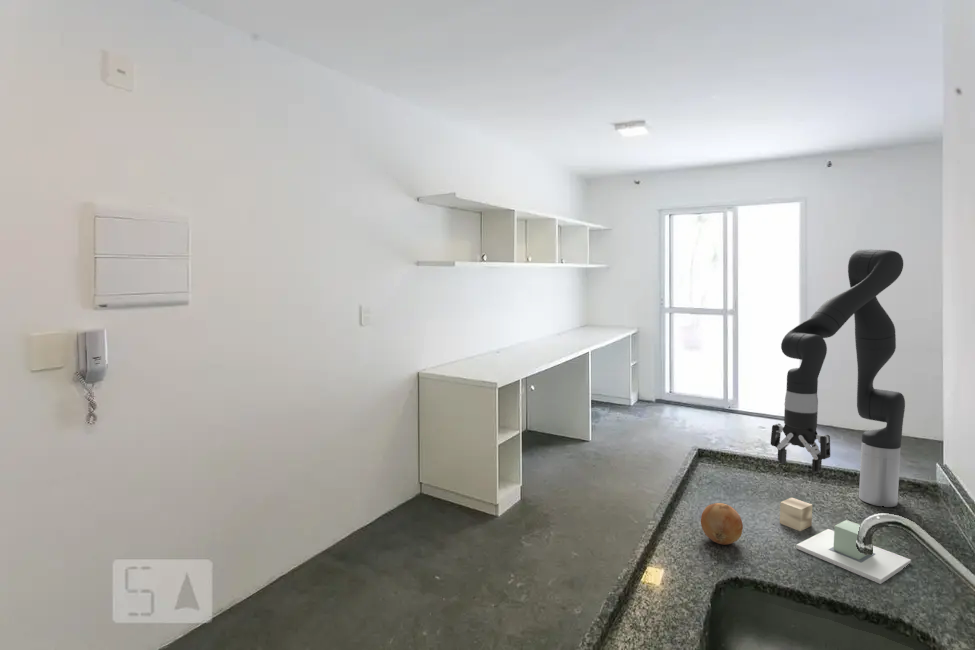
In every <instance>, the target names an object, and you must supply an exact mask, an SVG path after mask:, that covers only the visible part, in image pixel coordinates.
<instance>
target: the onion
mask: <svg viewBox="0 0 975 650" xmlns="http://www.w3.org/2000/svg"><path fill="white" fill-rule="evenodd" d="M743 525H744V524H743V519H742V518H741V516H740V514H739V512H737V510H735V508H733V507H732V506H730V505H729V504H726V503H722V502H715V503H712V504H711V503H710V504H709V505H707V506H706V507H705V508H704V509H703V510H702V513H701V517H700V526H701V529H702V531H703V533H704V534H705V536H706V537H707V538H708V539H710V540H711V541H712V542H713V543H716V544H718V545H724V546H727V545H731V544H733V543H735V542H737V541H738V540H739V539H740V538H741V536H742V535H743V528H744V527H743Z"/></svg>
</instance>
